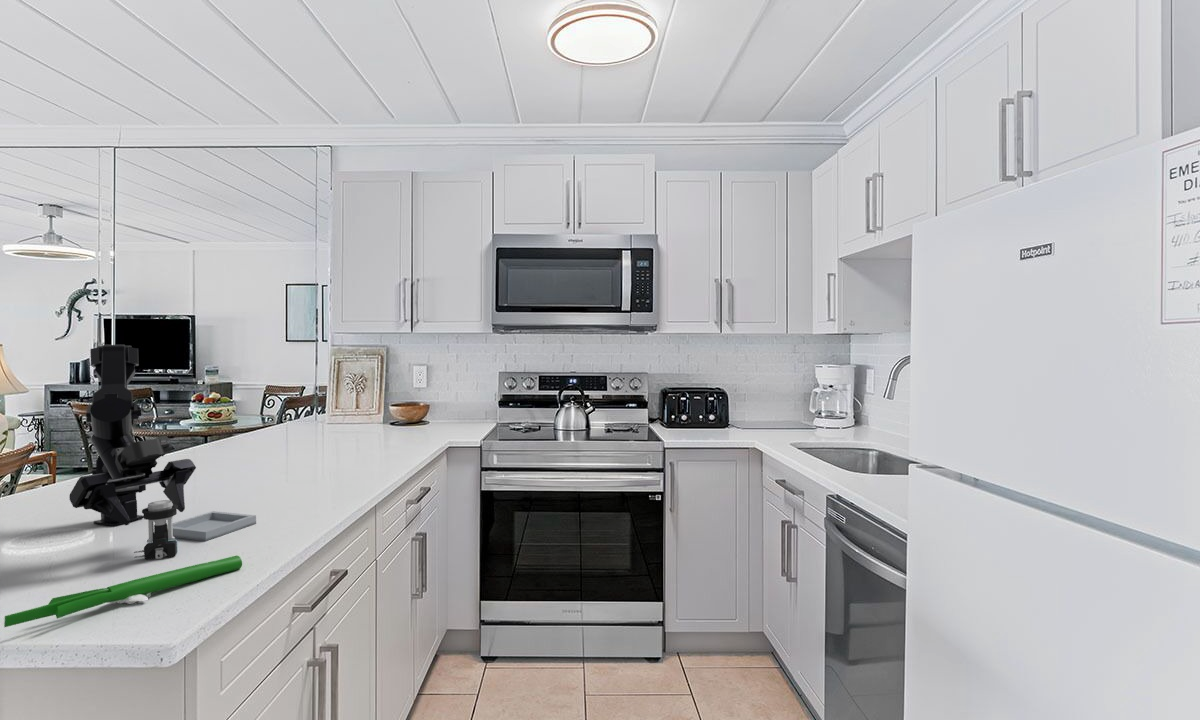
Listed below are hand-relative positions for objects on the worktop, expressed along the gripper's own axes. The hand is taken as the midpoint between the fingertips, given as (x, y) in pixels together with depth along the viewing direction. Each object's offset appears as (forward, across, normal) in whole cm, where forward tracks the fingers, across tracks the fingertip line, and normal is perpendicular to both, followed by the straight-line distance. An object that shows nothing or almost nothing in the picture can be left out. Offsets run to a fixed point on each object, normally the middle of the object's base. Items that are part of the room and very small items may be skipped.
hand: (156, 516), depth 111 cm
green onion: (+18, -12, -6) cm, 22 cm away
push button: (+5, 0, +6) cm, 8 cm away
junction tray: (0, +15, +11) cm, 18 cm away
